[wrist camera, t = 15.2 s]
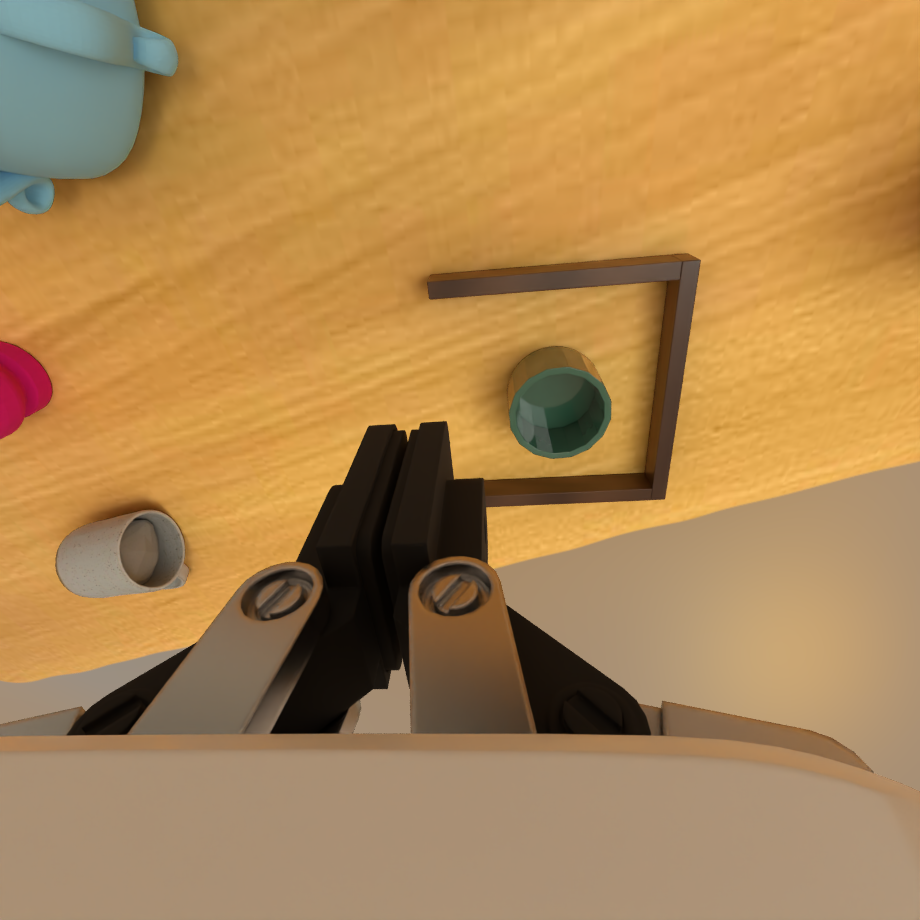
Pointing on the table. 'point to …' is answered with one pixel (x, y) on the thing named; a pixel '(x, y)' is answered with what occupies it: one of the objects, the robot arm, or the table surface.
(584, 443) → the green cup
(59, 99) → the decorative pot
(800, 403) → the table surface
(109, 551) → the ceramic mug
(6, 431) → the pepper mill
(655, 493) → the walnut bay
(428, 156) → the table surface
